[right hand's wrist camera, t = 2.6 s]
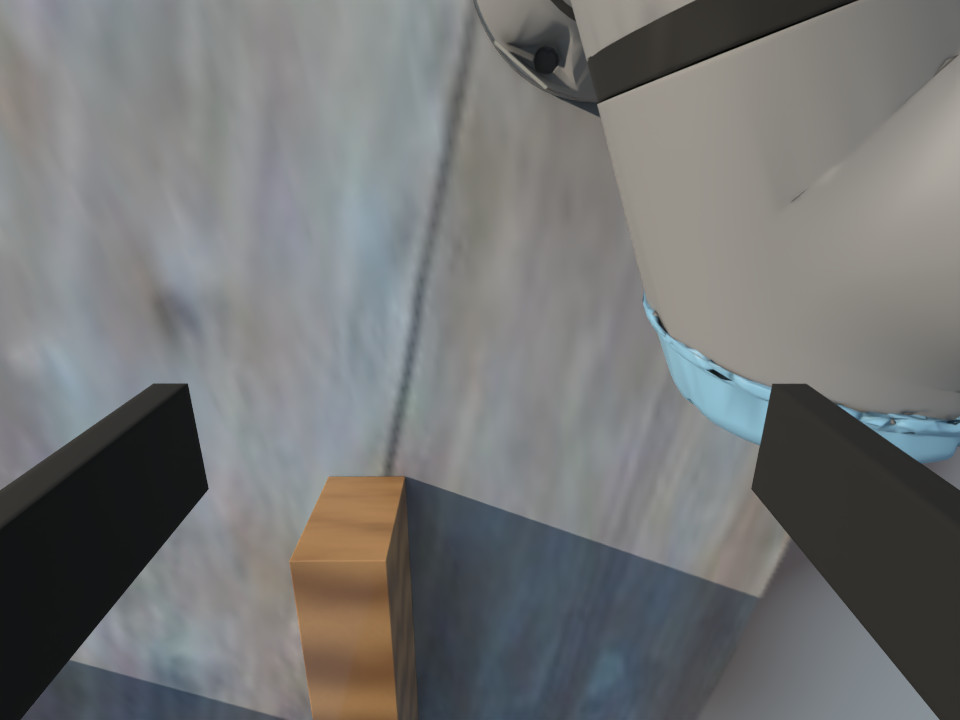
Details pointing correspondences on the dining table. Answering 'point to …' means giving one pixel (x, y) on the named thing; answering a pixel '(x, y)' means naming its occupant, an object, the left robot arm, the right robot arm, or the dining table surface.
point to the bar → (357, 602)
